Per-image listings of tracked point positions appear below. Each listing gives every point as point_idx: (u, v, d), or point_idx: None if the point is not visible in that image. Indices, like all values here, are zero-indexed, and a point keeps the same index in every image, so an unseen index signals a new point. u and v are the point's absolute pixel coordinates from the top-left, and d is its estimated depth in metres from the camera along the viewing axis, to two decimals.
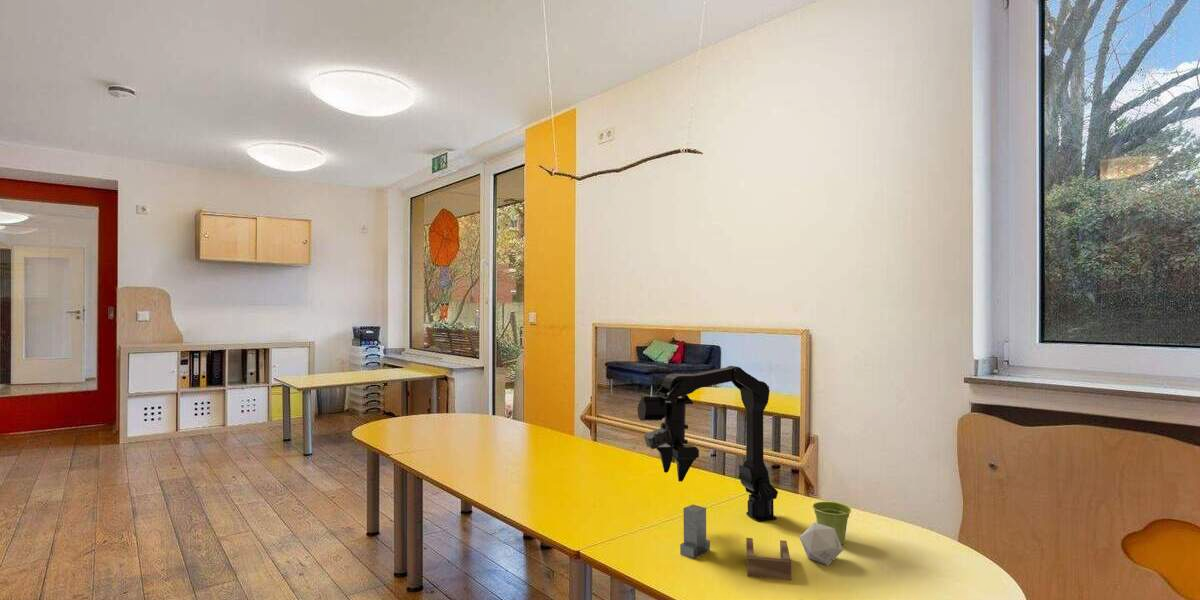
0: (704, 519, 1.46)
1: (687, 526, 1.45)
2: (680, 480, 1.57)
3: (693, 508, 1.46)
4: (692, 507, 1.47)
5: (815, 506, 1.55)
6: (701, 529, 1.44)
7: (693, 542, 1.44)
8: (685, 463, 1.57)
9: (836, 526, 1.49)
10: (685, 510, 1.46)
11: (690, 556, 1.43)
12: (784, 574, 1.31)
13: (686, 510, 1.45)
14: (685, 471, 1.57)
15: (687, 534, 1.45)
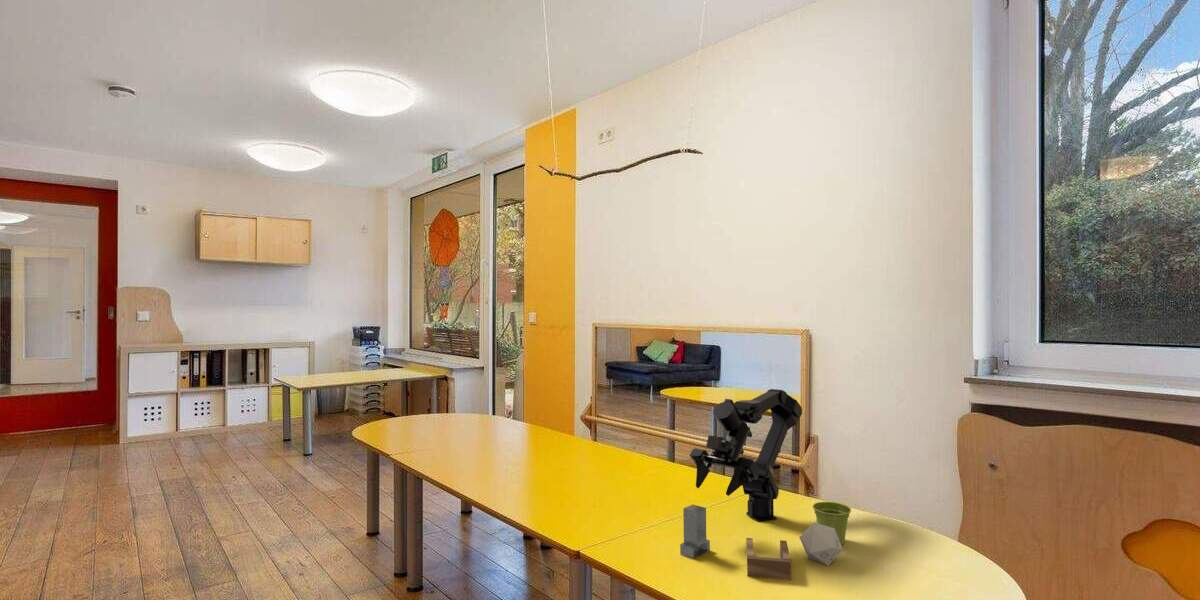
0: (704, 519, 1.46)
1: (687, 526, 1.45)
2: (728, 493, 1.49)
3: (693, 508, 1.46)
4: (692, 507, 1.47)
5: (815, 506, 1.55)
6: (701, 529, 1.44)
7: (693, 542, 1.44)
8: (739, 480, 1.51)
9: (836, 526, 1.49)
10: (685, 510, 1.46)
11: (690, 556, 1.43)
12: (784, 574, 1.31)
13: (686, 510, 1.45)
14: (736, 487, 1.50)
15: (687, 534, 1.45)
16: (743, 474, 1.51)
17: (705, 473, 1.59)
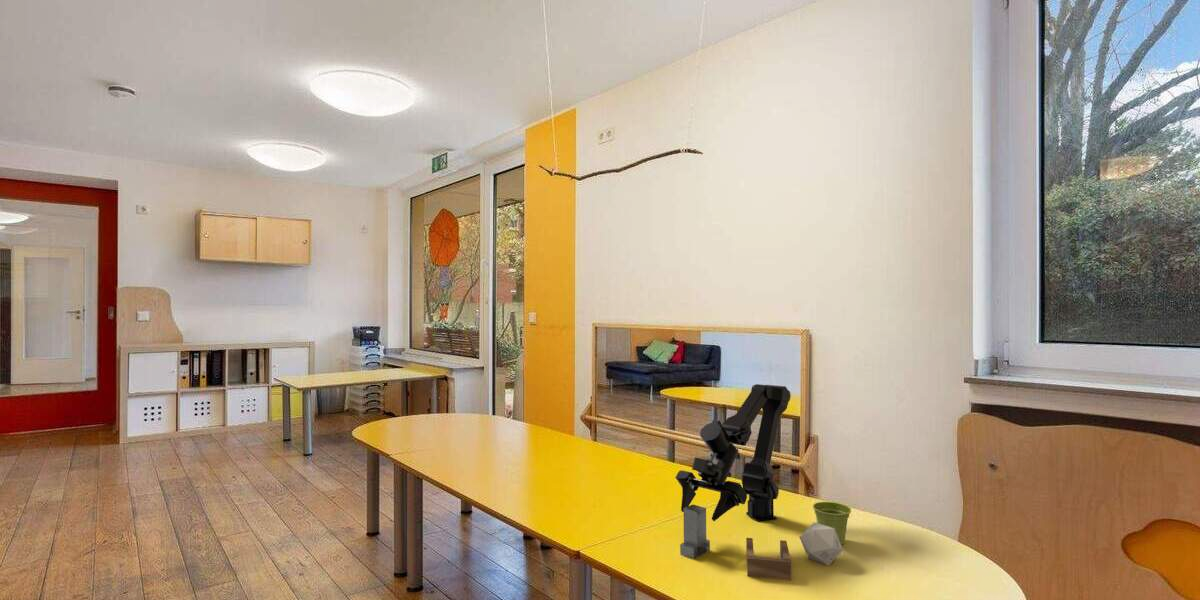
0: (704, 519, 1.46)
1: (687, 526, 1.45)
2: (714, 518, 1.44)
3: (693, 508, 1.46)
4: (692, 507, 1.47)
5: (815, 506, 1.55)
6: (701, 529, 1.44)
7: (693, 542, 1.44)
8: (726, 504, 1.46)
9: (836, 526, 1.49)
10: (685, 510, 1.46)
11: (690, 556, 1.43)
12: (784, 574, 1.31)
13: (686, 510, 1.45)
14: (722, 512, 1.45)
15: (687, 534, 1.45)
16: (730, 499, 1.46)
17: (691, 496, 1.54)
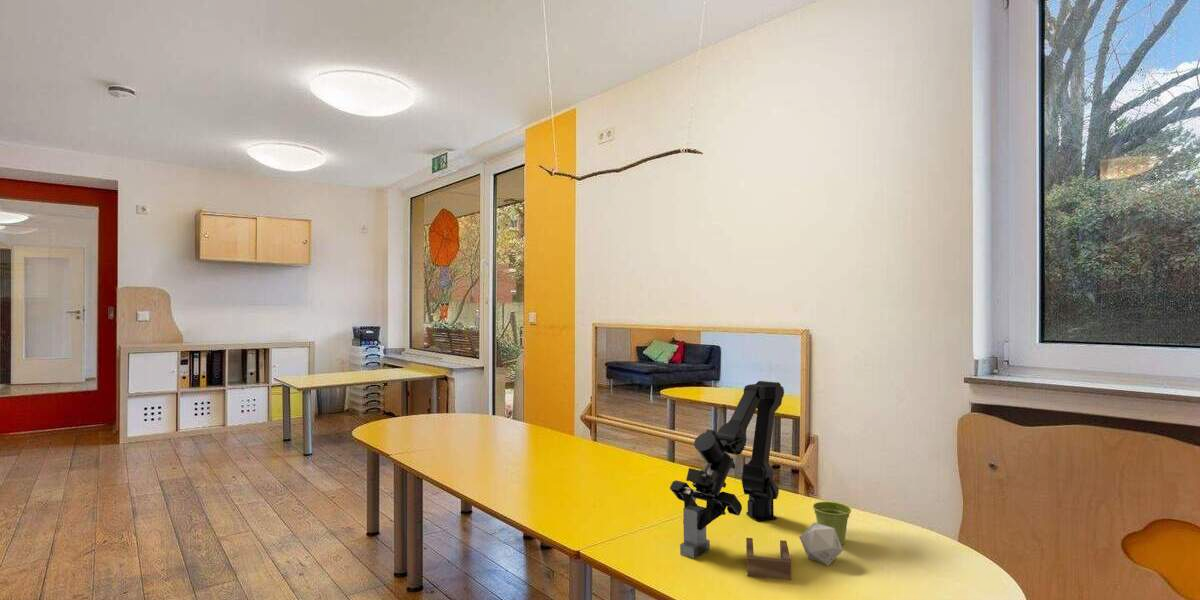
0: None
1: (687, 526, 1.45)
2: (700, 528, 1.43)
3: (692, 508, 1.46)
4: (692, 507, 1.47)
5: (815, 506, 1.55)
6: None
7: (693, 542, 1.44)
8: (712, 513, 1.46)
9: (836, 526, 1.49)
10: (685, 510, 1.46)
11: (690, 556, 1.43)
12: (784, 574, 1.31)
13: (686, 510, 1.45)
14: (708, 521, 1.45)
15: (687, 534, 1.45)
16: (716, 508, 1.45)
17: None
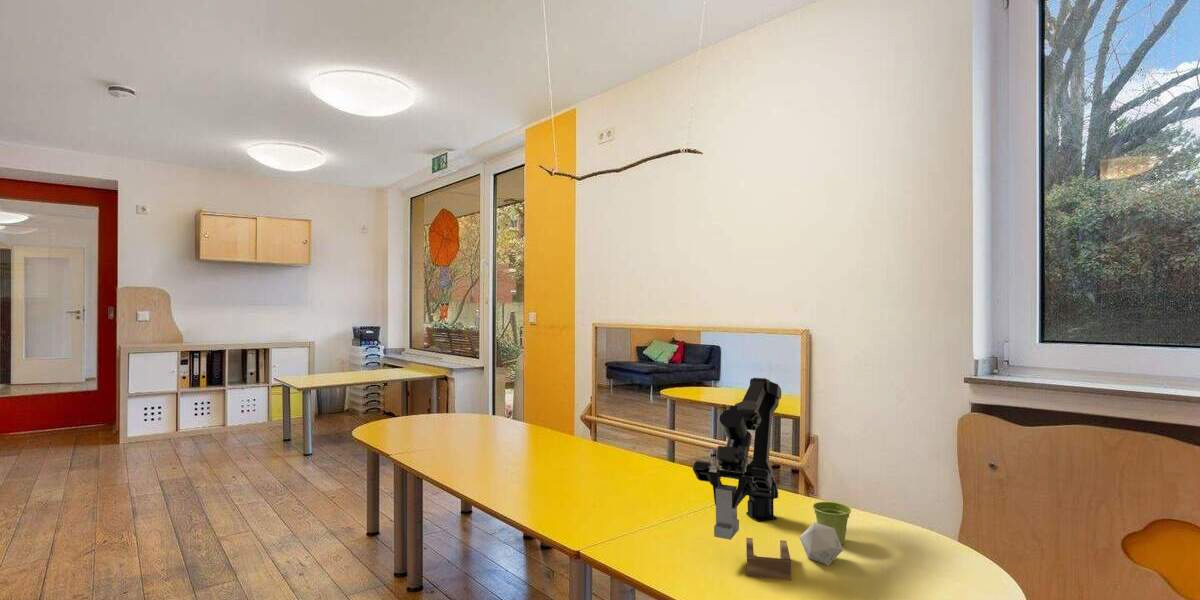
0: None
1: (720, 506, 1.40)
2: (735, 506, 1.39)
3: (724, 487, 1.41)
4: (723, 487, 1.42)
5: (815, 506, 1.55)
6: (734, 509, 1.40)
7: (727, 522, 1.39)
8: (743, 490, 1.42)
9: (836, 526, 1.49)
10: (718, 490, 1.40)
11: (726, 537, 1.38)
12: (784, 574, 1.31)
13: (719, 490, 1.40)
14: (741, 499, 1.41)
15: (720, 515, 1.40)
16: (747, 484, 1.42)
17: None
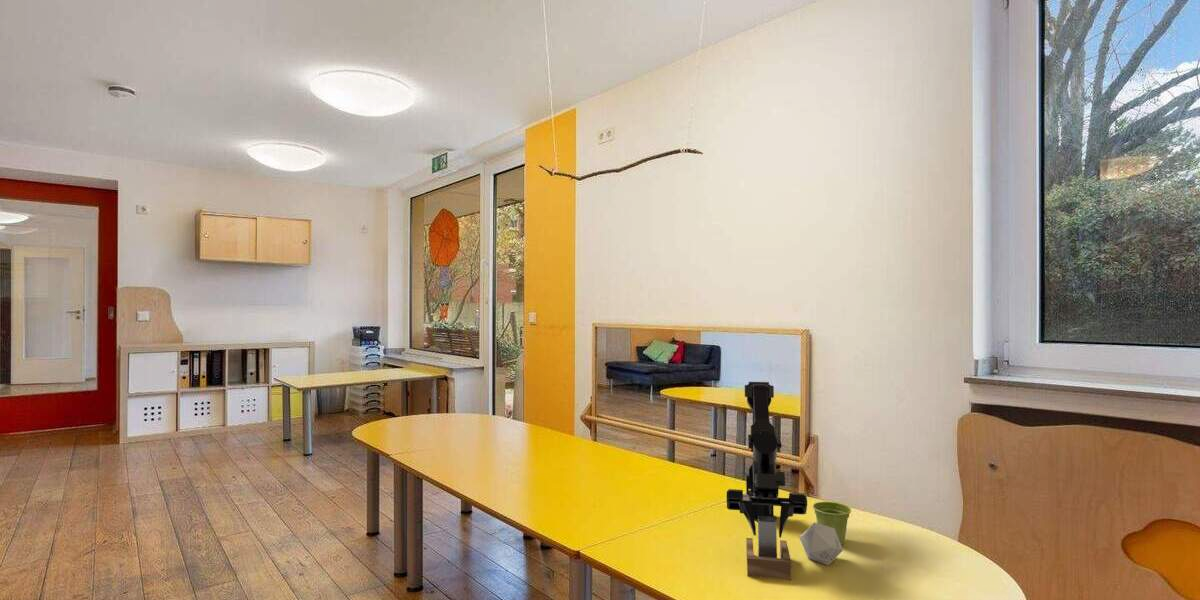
0: None
1: (763, 539, 1.36)
2: (781, 535, 1.36)
3: (765, 519, 1.38)
4: (764, 518, 1.38)
5: (815, 506, 1.55)
6: None
7: (771, 555, 1.36)
8: None
9: (836, 526, 1.49)
10: (761, 523, 1.37)
11: None
12: (784, 574, 1.31)
13: (762, 523, 1.36)
14: (783, 526, 1.39)
15: (764, 548, 1.36)
16: (787, 510, 1.40)
17: None
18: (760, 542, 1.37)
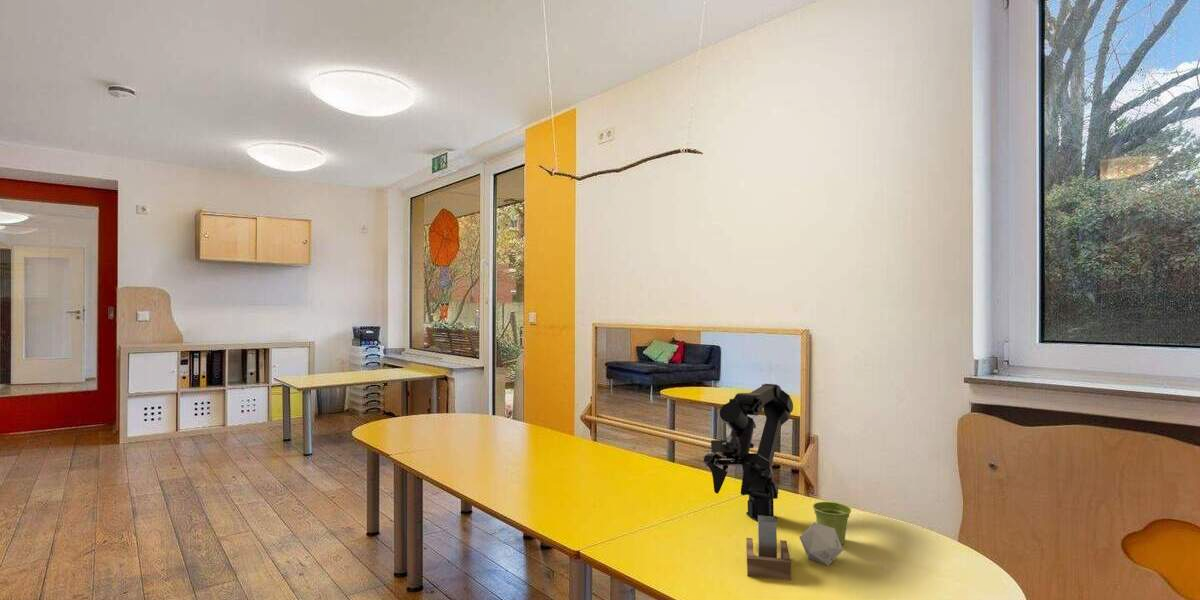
0: None
1: (764, 539, 1.36)
2: (743, 493, 1.48)
3: (765, 519, 1.38)
4: (764, 518, 1.38)
5: (815, 506, 1.55)
6: None
7: (771, 555, 1.36)
8: (751, 476, 1.50)
9: (836, 526, 1.49)
10: (761, 523, 1.37)
11: None
12: (784, 574, 1.31)
13: (762, 522, 1.36)
14: (750, 485, 1.49)
15: (764, 548, 1.36)
16: (753, 470, 1.50)
17: (722, 476, 1.59)
18: (760, 542, 1.37)
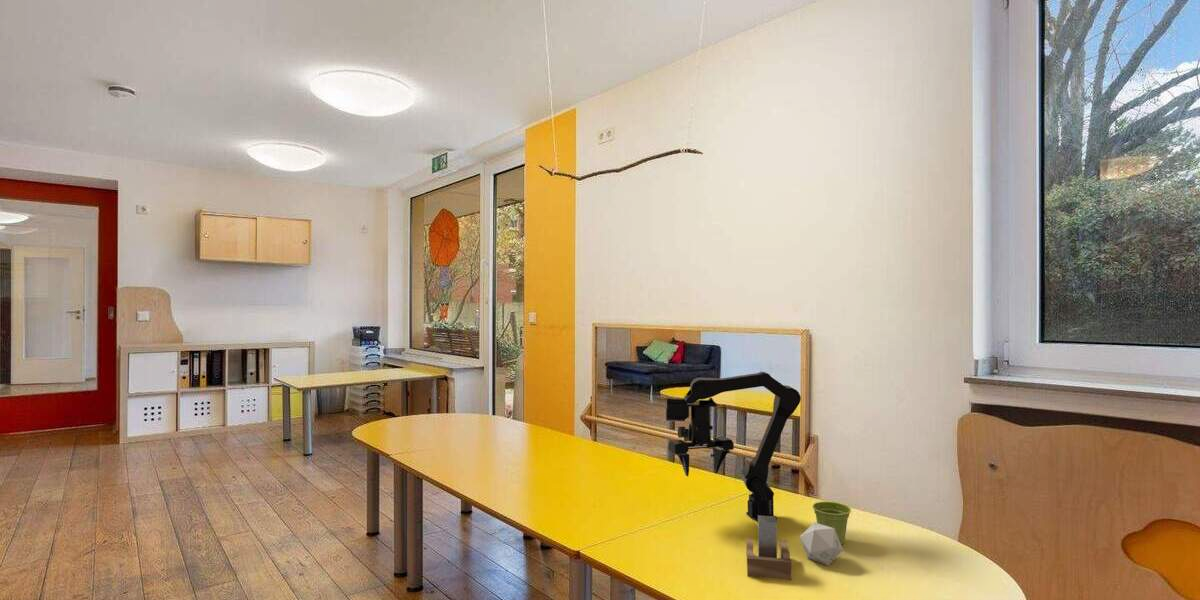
0: None
1: (764, 539, 1.36)
2: (685, 474, 1.71)
3: (765, 519, 1.38)
4: (764, 518, 1.38)
5: (815, 506, 1.55)
6: None
7: (771, 555, 1.36)
8: None
9: (836, 526, 1.49)
10: (761, 523, 1.37)
11: None
12: (784, 574, 1.31)
13: (762, 522, 1.36)
14: (684, 467, 1.69)
15: (764, 548, 1.36)
16: None
17: (718, 457, 1.72)
18: (760, 542, 1.37)
